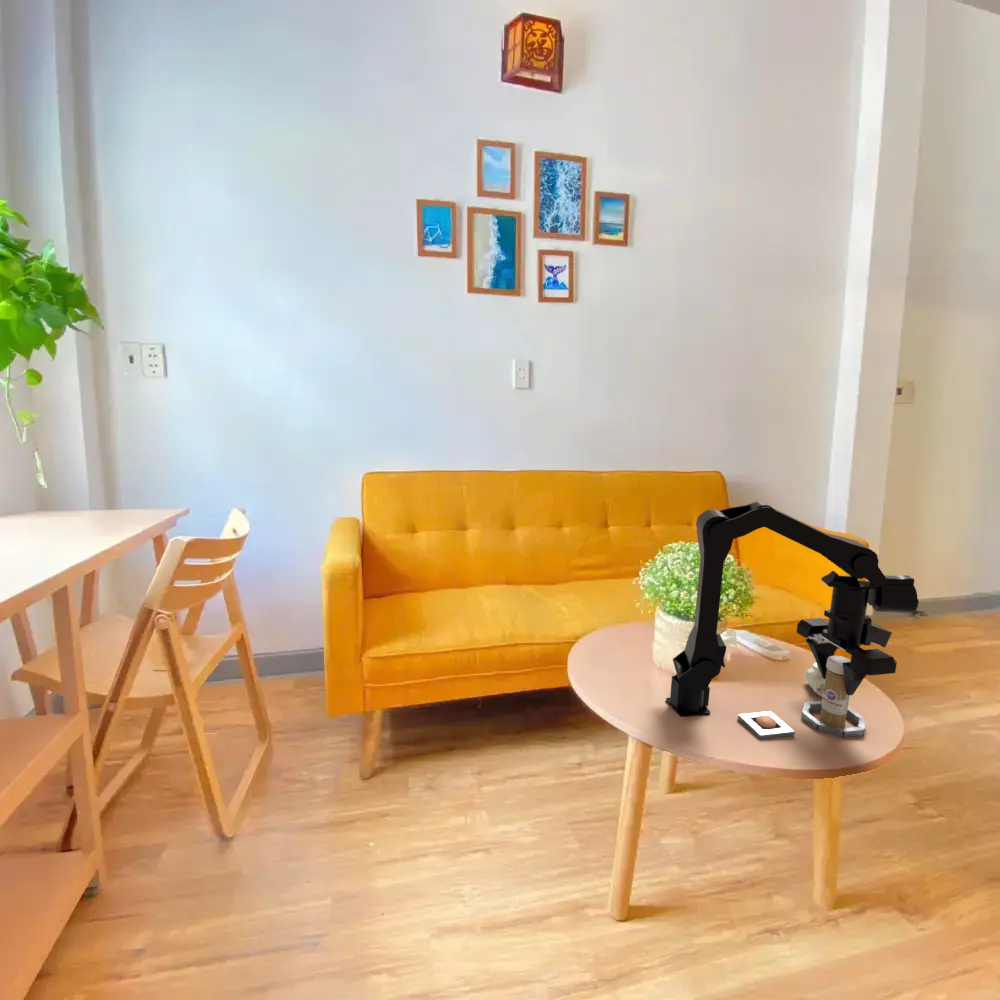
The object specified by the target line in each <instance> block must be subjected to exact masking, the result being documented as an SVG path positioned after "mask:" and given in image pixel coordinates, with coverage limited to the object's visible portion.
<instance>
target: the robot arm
mask: <svg viewBox="0 0 1000 1000" xmlns="http://www.w3.org/2000/svg"><path fill="white" fill-rule="evenodd" d="M695 524H696V526H695V527H696V536H697V545H698V549H699V556H700V560H699V568H698V569H699V571H698V582H697V591H696V605H695V614H694V616H695V617H694V623H693V627H692V629H691V631H690V633H689V634H688V637H687V640H686V644H685V647H684V648H685V649H683V650H682V651H681V652H679V654H677V655H676V656H675V657H673V658H672V662H673V665H674V669H675V672H676V673H675V675H672V676H671V683H670V695H669V697H666V698H665V701H666V703H667V704H668V705H669V707H671V709H673V711H674V712H676V714H677V715H678V716H679V717H682V718H684V717H696V716H705V715H711V710H710V709H709V708H708V706H709V703H710V702H709V701H710V692H711V691H710V690H711V688H710V686H709V685H710V684H711V682H712V680H713V679H714V678H716V677H717V676H719V675H720V673H721V670H722V668H726V664H725V655H726V652H727V645H726V644H725V642H724V639H723V638H722V636H721V634H720V633H718V632H717V631H718V622H719V612H720V603H721V596H722V595H721V592H722V583H723V582H722V581H723V575H724V565H725V561H726V560H727V557H728V555H729V554H730V551H731V549H732V545H733V542H734V540H735V539H738V538H741V537H744V536H747V535H749V534H750V533H752V532H754V531H756V530H758V529H761V528H766V529H769V530H770V531H773V532H774V533H777V534H778V535H780V536H783V537H785V538H786V539H789V540H791V541H793V542H795V543H797V544H799V545H802V546H803V547H805V548H807V549H810V550H812V551H814V552H815V553H818V554H820V555H821V556H823V557H824V558H825V559H827V560H828V561H830V562H831V563H832V564H833V565H835V566H836V567H838V568H839V569H840V570H842V571H844V573H846V574H848V575H839V574H838V573H837V572H836V571H835V570H831V571H830V573H828V574H825V575H824V576H822V577H821V578H820V579H821V581H822V582H823V583H824V584H825V585H827V586H828V587H829V588H832V591H831V600H830V608H829V609H824V611H823V616H824V617H826V618H828V621H827V620H825V619H823V618H822V617H819V618H818V617H815V618H804V619H801V620H800V621H799V622H798V623H797V624H796V626H797V627H796V633H797V634H798V635H799V636H802V637H803V638H806V639H805V642H806V644H808V646H809V649H810V651H811V653H812V654H813V655H812V656H813V657H814V659H815V663H817V665H818V667H819V670H820V672H821V675H822V677H823V679H826V672H827V667H826V664H827V659H828V657H830V656H835V653H836V651H837V650H838V649H837V648H840V650H842V651H844V652H846V653H848V654H849V655H851V657H850V660H851V662H845V663H843V671H844V681H845V689H846V694H847V695H850V696H853V695H854V694H855V693H856V691H857V689H858V688H859V687H860V685H861V684H862V683H863V680H864V678H867V677H866V676H878V675H889V674H896V670H897V662H898V661H897V660H896V659H895V658H894V657H893V656H891V655H890V654H888V653H886V652H884V651H882V650H880V649H879V648H872V649H863V648H861V646H871V644H876V645H879V646H880V647H882V648H886V647H887V645H888V642H889V640H890V638H891V636H892V635H893V631H891V630H889V629H886V628H884V627H882V626H881V625H878V624H876V623H874V622H872V617H870V616H869V615H867V610H868V609H867V608H868V605H869V606H872V609H873V610H874V611H875V612H879V613H895V614H908V615H909V614H914V613H916V611H917V609H918V607H919V598H918V593H917V589H916V587H915V579H914V578H913V577H911V575H903V574H901V575H885V574H884V572H883V571H882V570H881V568H880V567H879V562H880V561H879V558H878V557H879V556H878V554H877V553H876V552H875V551H874V550H873V549H871V548H869V547H868V546H866V545H864V544H862V543H861V542H859V541H858V540H855V539H852V538H848V537H845V536H842V535H835V534H832V533H827V532H824V531H822V530H820V529H818V528H816V527H814V526H812V525H810V524H807V523H805V522H803V521H801V520H799V519H797V518H795V517H792V516H791V515H789V514H786V512H783V511H780V510H778V509H776V508H774V507H772V506H771V505H769V504H768V503H766V502H764V501H762V500H761V501H759V500H758V501H755V502H752V503H749V504H743V505H738V506H732V507H727V508H723V509H720V510H718V509H707V510H705V511H703V512H702V513H700V514H699V515H698V516H697V518H696V523H695ZM859 579H860V580H859ZM862 579H865V580H862ZM809 636H810V637H809ZM808 637H809V639H808Z"/></svg>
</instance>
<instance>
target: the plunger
mask: <svg viewBox="0 0 1000 1000" xmlns="http://www.w3.org/2000/svg"><path fill="white" fill-rule="evenodd" d="M755 723H756V724H757V725H758V726H759V727H760V728H762V729H763V730H765V729H774V728H775V727H776V721H775V720H774V719H773V718H771V717H768V716H758V717H757V718H756V722H755Z"/></svg>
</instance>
